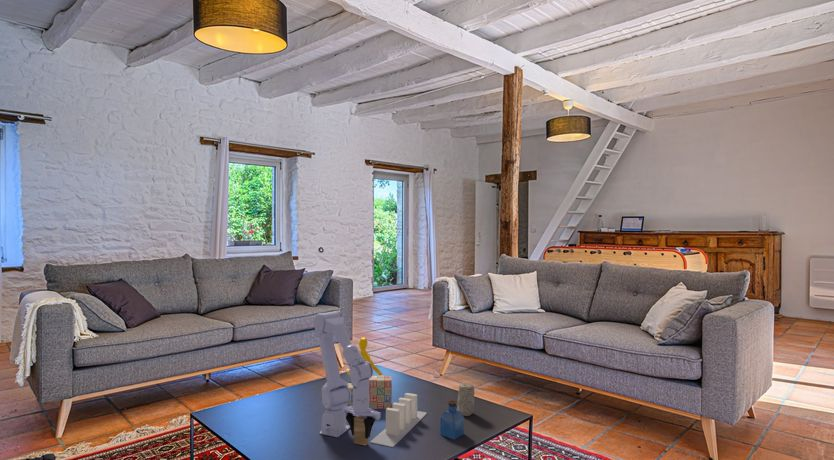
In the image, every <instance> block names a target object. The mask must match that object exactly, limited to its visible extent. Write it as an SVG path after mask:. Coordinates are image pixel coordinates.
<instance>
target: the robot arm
mask: <svg viewBox="0 0 834 460" xmlns="http://www.w3.org/2000/svg"><path fill="white" fill-rule="evenodd" d="M313 325H314V330H315V336H316V337H318V342H319V347H320V352H321V358H322V364H323V368H324V373H325V378H326V382H325V384H324V385H323V386H322V387H321V389H320V390H321V403H322V405H323V407H325V411H324V412H323V414H322V416H321V430H320V432H319V434H320V435H324V436H329V437H334V438H339V437H341V435H343V434H344V433H346V432H348V430H349V429H350V432H351V435H352V436H353V437H354V417H356V416H360V417H365V418H366V419H364V425H365V438H368V439H369V438H370V437H371V432H372V429H373V426H374V424H375V421H376V420H377V421H378V420H380V419H381V415H382V414H381V412H380V411H377V410H376V409H370V408H369V378H371V377H372V376H374V370H373V369H372V366H371V364H370V363H369V362H367V361H366V360H365V359H363V357H362V355H361V351H360V349H359V348H358V346H357V345H355V344H352V341H351V339H350V337H349V333H348V332H347V330H346V328H345V318H344V315H343V313H342V312H341V311H340V310H335V311H329V312H323V313H321V312H320V313H317V314H316V315H315V317H314V319H313ZM334 338H335V339H336V340H337V342H338V343H339V344H340V346H341V348H342V353H341V354H342V356H343V358H344V360H345V362H346V364H347V365H348V368H349V370H350V371H349V370H348V371H349V374H350V375H349V377H350V379H351V380H350V381H351V382H350V383H351V384H352V386H353V406H347V405H348V402H349V401H350V399H351V392H350V389H349V388H348V385H347V383H348V382H347V380H344V379H342V378H341V374H340V373H341V372H340V369H339V364H338V359H337V353H336V348H335V344H334ZM347 424H348V425H347Z"/></svg>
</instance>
